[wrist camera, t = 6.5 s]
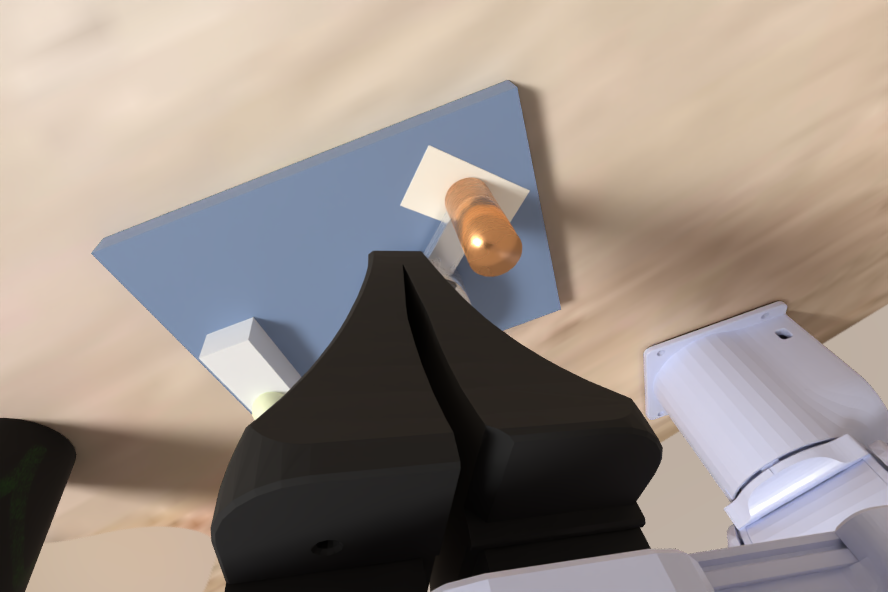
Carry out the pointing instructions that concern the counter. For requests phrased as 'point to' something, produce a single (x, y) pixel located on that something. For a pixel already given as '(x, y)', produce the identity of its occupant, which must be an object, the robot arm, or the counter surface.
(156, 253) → the plate
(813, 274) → the counter surface
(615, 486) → the robot arm
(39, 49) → the counter surface
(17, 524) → the cup
